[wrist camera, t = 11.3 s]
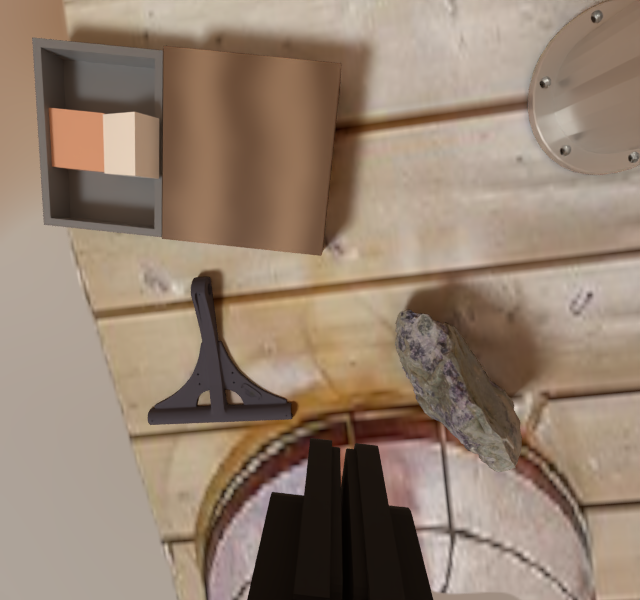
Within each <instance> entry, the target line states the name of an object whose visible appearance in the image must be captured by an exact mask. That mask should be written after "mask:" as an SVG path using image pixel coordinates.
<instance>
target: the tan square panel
mask: <svg viewBox="0 0 640 600" xmlns="http://www.w3.org/2000/svg"><path fill="white" fill-rule="evenodd" d="M340 78H341V63H332V62H322V61H312V60H302V59H292V58H282V57H271V56H261V55H251V54H241V53H231V52H221V51H211V50H201V49H191V48H181V47H171V46H164V59H163V200H162V239H170V240H179V241H189V242H198V243H208V244H217V245H226V246H236V247H245V248H254V249H264V250H273V251H283V252H292V253H301V254H311V255H320V256H321V255H322V252H323V244H324V235H325V225H326V215H327V206H328V196H329V186H330V177H331V167H332V157H333V148H334V138H335V128H336V119H337V109H338V99H339V90H340Z"/></svg>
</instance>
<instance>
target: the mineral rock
mask: <svg viewBox="0 0 640 600" xmlns="http://www.w3.org/2000/svg"><path fill="white" fill-rule="evenodd" d="M396 332H397V337H396V342H395V345H396V349H397V352H398V355H399V357H400V361H401V363H402V366H403V367H402V368H403V370H404V371H405V372H406V377H407V378H408V379H410V381H411V383H412V385H413V387H414V392H415V394H416V399H417V401H418V403H419V404H420V406H421V407H422V408H423V410H424V412H425V413H426V414H427V415H428V416H430V417H431V418H433V419H436V420H438V421H440V422H442V424H443V425H445V426H446V427H447V429H448V430H449V431H450V432H451V433H452V434H453V435H454V436H455V437H456V438H458V439H459V441H460V442H461V443H462V444H464V446H465V448H466V449H467V450H468V451H471V452H473V453H475V454H478V455H479V458H480V459H481V461H482V462H484V463H486V464H487V465H488V466H489V467H490V468H491V469H493V470H494V471H497V472H503V471H507V470H510V469H513V468H515V465H516V464H517V462H518V457H519V455H520V452H521V438H522V437H521V433H520V420H519V418H518V417H517V415H516V413H515V411H514V404H513V401H512V399H511V398H510V397H509V396H508V395H507V393H506V392H505V390H502V389H501V388H500V387H498V386H497V385H496V384H494V383H492V382H491V381H490V380H489V379H488V377H487V375H486V372H485V371H484V370H483V369H482V367H481V365H480V364H479V362H478V361H477V358H476V357H475V355H474V354H473V353H472V352H471V350H470V349H469V347H468V346H467V344H466V343H465V341H464V339H463V338H462V337H461V335H460V334H459V332H458V331H457V329H456V328H455V327H452V326H451V325H449V324H447V323H440V322H438V321H435V320H433V319H432V318H431V317H430V315H428V314H422V313H414V312H412V311H411V310H405V311H402V312H400V313H399V315H398V317H397V321H396Z"/></svg>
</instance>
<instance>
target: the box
mask: <svg viewBox="0 0 640 600" xmlns="http://www.w3.org/2000/svg"><path fill="white" fill-rule="evenodd" d="M32 41H33V56H34V71H35V88H36V105H37V120H38V137H39V153H40V168H41V184H42V200H43V216H44V225H52V226H63V227H71V228H80V229H90V230H99V231H108V232H118V233H127V234H137V235H146V236H155V237H162V200H163V59H164V51H162V50H152V49H142V48H132V47H122V46H112V45H102V44H92V43H82V42H72V41H61V40H52V39H42V38H32ZM49 108H57V109H67V110H77V111H87V112H97V113H105V114H114V113H126V112H137V113H141V114H145V115H148V116H152V117H156V118H159V179H154V178H141V177H128V176H120V175H112V174H104V173H102V172H92V171H82V170H72V169H64V168H58V167H52V157H51V140H50V123H49Z"/></svg>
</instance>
